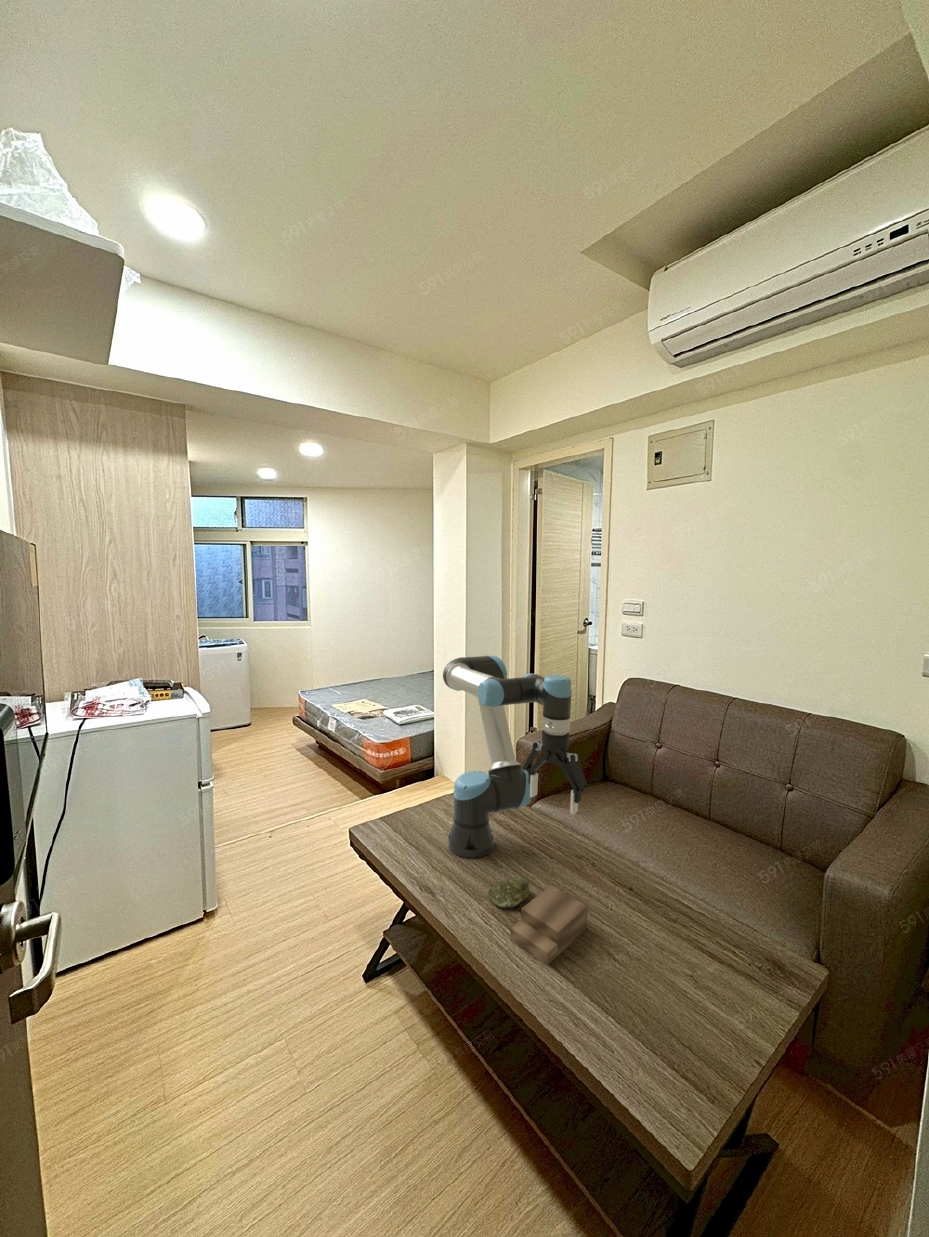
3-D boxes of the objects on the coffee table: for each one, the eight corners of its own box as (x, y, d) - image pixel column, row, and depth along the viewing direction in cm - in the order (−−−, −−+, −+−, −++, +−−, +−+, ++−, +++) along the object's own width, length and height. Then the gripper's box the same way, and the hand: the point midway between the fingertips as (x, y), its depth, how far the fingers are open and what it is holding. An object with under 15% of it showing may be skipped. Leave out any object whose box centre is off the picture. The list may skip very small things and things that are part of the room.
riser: (510, 939, 118) (510, 916, 117) (551, 906, 129) (551, 885, 129) (547, 965, 110) (547, 941, 109) (586, 928, 122) (587, 905, 121)
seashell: (481, 888, 134) (504, 859, 136) (494, 896, 138) (516, 868, 140) (503, 917, 126) (527, 885, 128) (516, 924, 130) (539, 893, 132)
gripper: (512, 723, 140) (510, 793, 142) (588, 746, 123) (585, 825, 125) (528, 718, 145) (525, 785, 147) (603, 739, 128) (599, 815, 130)
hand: (553, 803), depth 136 cm, fingers open, 13 cm apart
